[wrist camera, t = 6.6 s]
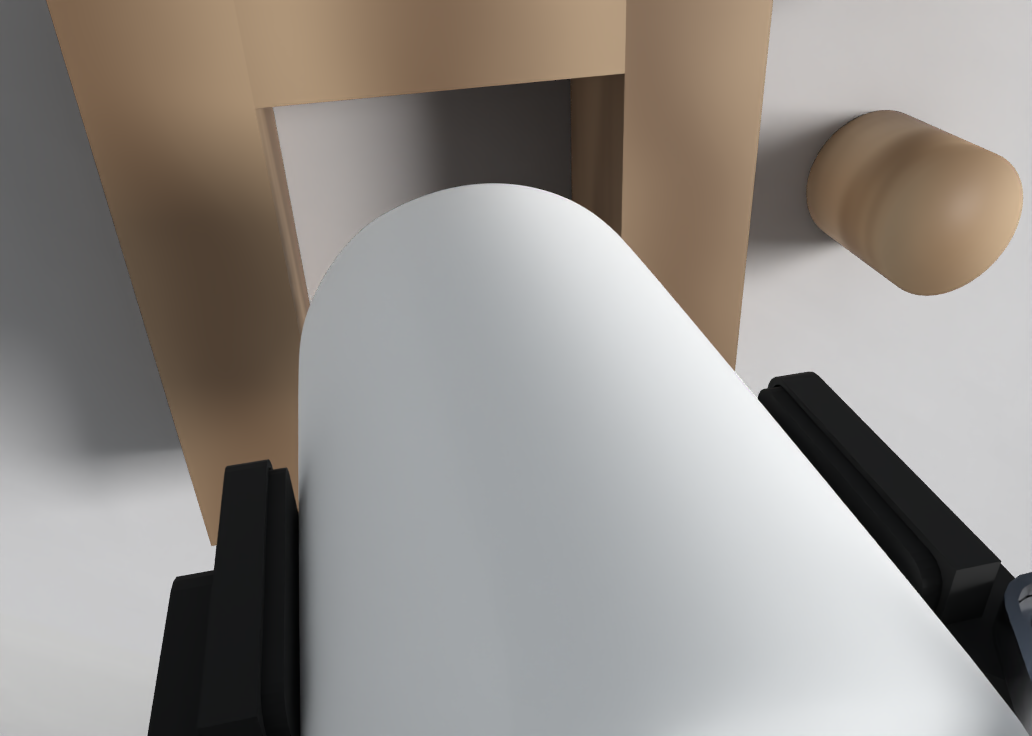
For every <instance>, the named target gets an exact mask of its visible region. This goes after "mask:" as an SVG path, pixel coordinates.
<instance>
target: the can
mask: <svg viewBox="0 0 1032 736" xmlns="http://www.w3.org/2000/svg"><path fill="white" fill-rule="evenodd" d="M298 495H299V644H300V736H1029V734H1028V733H1027V731H1026V730H1025V728H1024V727H1023V725H1022V724H1021V722H1020V721H1019V719H1018V718H1017V717H1016V715H1015V714H1014V713H1013V711H1012V710H1011V709H1010V707H1009V706H1008V705H1007V704H1006V702H1005V701H1004V700H1003V698H1002V697H1001V696H1000V695H999V693H998V692H997V691H996V690H995V688H994V687H993V686H992V684H991V683H990V682H989V681H988V679H987V678H986V677H985V675H984V674H983V673H982V672H981V670H980V669H979V668H978V666H977V665H976V664H975V663H974V661H973V660H972V659H971V657H970V656H969V655H968V654H967V653H966V651H965V650H964V649H963V648H962V646H961V645H960V644H959V643H958V642H957V640H956V639H955V638H954V637H953V635H952V634H951V633H950V632H949V630H948V629H947V628H946V627H945V626H944V624H943V623H942V622H941V621H940V619H939V618H938V617H937V616H936V615H935V613H934V612H933V611H932V610H931V608H930V607H929V606H928V605H927V603H926V602H925V601H924V600H923V599H922V597H921V596H920V595H919V594H918V592H917V591H916V590H915V589H914V588H913V586H912V585H911V584H910V583H909V581H908V580H907V579H906V578H905V576H904V575H903V574H902V573H901V572H900V570H899V569H898V568H897V567H896V566H895V564H894V563H893V562H892V561H891V560H890V558H889V557H888V556H887V555H886V553H885V552H884V551H883V550H882V549H881V547H880V546H879V545H878V544H877V543H876V541H875V540H874V539H873V538H872V537H871V535H870V534H869V533H868V532H867V530H866V529H865V528H864V527H863V526H862V524H861V523H860V522H859V521H858V520H857V518H856V517H855V516H854V515H853V513H852V512H851V511H850V510H849V509H848V507H847V506H846V505H845V504H844V503H843V501H842V500H841V499H840V498H839V497H838V495H837V494H836V493H835V492H834V490H833V489H832V488H831V487H830V486H829V484H828V483H827V482H826V481H825V480H824V478H823V477H822V476H821V475H820V474H819V472H818V471H817V470H816V469H815V467H814V466H813V465H812V464H811V463H810V461H809V460H808V459H807V458H806V457H805V455H804V454H803V453H802V452H801V451H800V449H799V448H798V447H797V446H796V445H795V443H794V442H793V441H792V440H791V439H790V437H789V436H788V435H787V434H786V433H785V431H784V430H783V429H782V428H781V427H780V425H779V424H778V423H777V422H776V421H775V419H774V418H773V417H772V416H771V415H770V413H769V412H768V411H767V410H766V409H765V407H764V406H763V405H762V404H761V402H760V401H759V400H758V399H757V398H756V396H755V395H754V394H753V393H752V392H751V390H750V389H749V388H748V387H747V386H746V384H745V383H744V382H743V381H742V380H741V378H740V377H739V376H738V375H737V374H736V372H735V371H734V370H733V369H732V368H731V366H730V365H729V364H728V363H727V362H726V361H725V359H724V358H723V357H722V356H721V355H720V353H719V352H718V351H717V350H716V349H715V347H714V346H713V345H712V344H711V343H710V341H709V340H708V339H707V338H706V337H705V335H704V334H703V333H702V332H701V331H700V329H699V328H698V327H697V326H696V325H695V323H694V322H693V321H692V320H691V319H690V317H689V316H688V315H687V314H686V313H685V312H684V310H683V309H682V308H681V307H680V306H679V304H678V303H677V302H676V301H675V300H674V298H673V297H672V296H671V295H670V294H669V293H668V291H667V290H666V289H665V288H664V287H663V285H662V284H661V283H660V282H659V281H658V279H657V278H656V277H655V276H654V275H653V274H652V272H651V271H650V270H649V269H648V268H647V267H646V265H645V264H644V263H643V262H642V261H641V260H640V259H639V257H638V256H637V255H636V254H635V253H634V252H633V250H632V249H631V248H630V247H629V246H628V245H627V244H626V243H625V242H624V240H623V239H622V238H621V237H620V236H619V235H618V234H617V233H616V232H615V231H614V230H613V229H612V228H611V227H610V226H608V225H607V224H606V223H605V222H604V221H603V220H601V219H600V218H599V217H598V216H596V215H595V214H593V213H592V212H590V211H589V210H587V209H586V208H584V207H582V206H581V205H579V204H577V203H575V202H573V201H571V200H569V199H567V198H564V197H562V196H560V195H557V194H554V193H551V192H548V191H545V190H541V189H537V188H533V187H528V186H521V185H514V184H499V183H488V184H473V185H465V186H459V187H453V188H449V189H445V190H441V191H437V192H434V193H430V194H428V195H425V196H422V197H419V198H417V199H414V200H412V201H409V202H407V203H405V204H403V205H401V206H398V207H396V208H394V209H392V210H390V211H389V212H387V213H385V214H383V215H381V216H380V217H378V218H377V219H375V220H374V221H372V222H371V223H370V224H368V225H367V226H366V227H365V228H363V229H362V230H361V231H360V232H359V233H358V234H357V235H356V236H355V237H354V238H353V239H352V240H351V241H350V242H349V243H348V244H347V245H346V246H345V248H344V249H343V250H342V251H341V252H340V254H339V255H338V256H337V258H336V259H335V260H334V262H333V263H332V265H331V266H330V268H329V269H328V271H327V272H326V274H325V276H324V278H323V279H322V281H321V283H320V285H319V287H318V289H317V291H316V293H315V295H314V297H313V299H312V302H311V304H310V307H309V309H308V312H307V315H306V318H305V321H304V325H303V330H302V335H301V342H300V352H299V383H298Z"/></svg>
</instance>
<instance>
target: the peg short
mask: <svg viewBox="0 0 1032 736" xmlns="http://www.w3.org/2000/svg"><path fill="white" fill-rule="evenodd" d="M806 197H807V205H808V210H809V212H810V215H811V217H812V219H813V221H814V222H815V224H816V225H817V226H818V227H819V228H820V229H821V230H822V231H823V232H824V233H826V234H827V235H828V236H830V237H831V238H832V239H834V240H835V241H837V242H838V243H839V244H841V245H842V246H843V247H845V248H846V249H847V250H849V251H850V252H851V253H853V254H854V255H855V256H857V257H858V258H860V259H861V260H862V261H864V262H865V263H866V264H868V265H869V266H870V267H872V268H873V269H874V270H876V271H877V272H878V273H880V274H881V275H883V276H884V277H885V278H887V279H888V280H889V281H891V282H892V283H893V284H895V285H896V286H897V287H899V288H901V289H902V290H904V291H906V292H909V293H911V294H916V295H925V296H929V295H938V294H943V293H947V292H950V291H953V290H955V289H958V288H960V287H962V286H964V285H966V284H968V283H969V282H971V281H973V280H974V279H975V278H977V277H978V276H980V275H981V274H982V273H983V272H984V271H986V270H987V269H988V268H989V267H990V266H991V265H992V264H993V263H994V262H995V261H996V260H997V259H998V257H999V256H1000V255H1001V254H1002V252H1003V251H1004V250H1005V248H1006V247H1007V245H1008V244H1009V242H1010V240H1011V238H1012V237H1013V235H1014V232H1015V230H1016V228H1017V226H1018V223H1019V220H1020V216H1021V211H1022V205H1023V189H1022V184H1021V181H1020V178H1019V175H1018V173H1017V172H1016V170H1015V168H1014V167H1013V166H1012V165H1011V164H1010V162H1008V161H1007V160H1006V159H1004V158H1003V157H1001V156H999V155H997V154H995V153H993V152H991V151H988V150H986V149H984V148H982V147H979V146H977V145H975V144H973V143H970V142H968V141H966V140H963V139H961V138H959V137H957V136H954V135H952V134H950V133H948V132H945V131H943V130H941V129H938V128H936V127H934V126H932V125H929V124H927V123H925V122H923V121H920V120H918V119H916V118H914V117H911V116H909V115H907V114H904V113H901V112H898V111H892V110H880V111H874V112H870V113H867V114H864V115H862V116H859V117H857V118H855V119H853V120H852V121H850V122H848V123H847V124H845V125H844V126H843V127H841V128H840V129H839V130H838V131H837V132H836V133H834V134H833V135H832V136H831V138H830V139H829V140H828V141H827V142H826V143H825V145H824V146H823V147H822V149H821V150H820V152H819V153H818V155H817V157H816V159H815V161H814V163H813V165H812V168H811V171H810V174H809V177H808V182H807V191H806Z"/></svg>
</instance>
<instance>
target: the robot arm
mask: <svg viewBox="0 0 1032 736" xmlns="http://www.w3.org/2000/svg"><path fill="white" fill-rule="evenodd" d="M758 400H759V401H760V402H761V404H762V405H763V406H764V407H765V409H766V410H767V411H768V412H769V413H770V415H771V416H772V417H773V418H774V419H775V421H776V422H777V423H778V424H779V425H780V427H781V428H782V429H783V430H784V431H785V433H786V434H787V435H788V436H789V437H790V439H791V440H792V441H793V442H794V443H795V445H796V446H797V447H798V448H799V449H800V451H801V452H802V453H803V454H804V455H805V457H806V458H807V459H808V460H809V461H810V463H811V464H812V465H813V466H814V467H815V469H816V470H817V471H818V472H819V474H820V475H821V476H822V477H823V478H824V480H825V481H826V482H827V483H828V484H829V486H830V487H831V488H832V489H833V490H834V492H835V493H836V494H837V495H838V497H839V498H840V499H841V500H842V501H843V503H844V504H845V505H846V506H847V507H848V509H849V510H850V511H851V512H852V513H853V515H854V516H855V517H856V518H857V520H858V521H859V522H860V523H861V524H862V526H863V527H864V528H865V529H866V530H867V532H868V533H869V534H870V535H871V537H872V538H873V539H874V540H875V541H876V543H877V544H878V545H879V546H880V547H881V549H882V550H883V551H884V552H885V553H886V555H887V556H888V557H889V558H890V560H891V561H892V562H893V563H894V564H895V566H896V567H897V568H898V569H899V570H900V572H901V573H902V574H903V575H904V576H905V578H906V579H907V580H908V581H909V583H910V584H911V585H912V586H913V588H914V589H915V590H916V591H917V592H918V594H919V595H920V596H921V597H922V599H923V600H924V601H925V602H926V603H927V605H928V606H929V607H930V608H931V610H932V611H933V612H934V613H935V615H936V616H937V617H938V618H939V619H940V621H941V622H942V623H943V624H944V626H945V627H946V628H947V629H948V630H949V632H950V633H951V634H952V635H953V637H954V638H955V639H956V640H957V642H958V643H959V644H960V645H961V646H962V648H963V649H964V650H965V651H966V653H967V654H968V655H969V656H970V657H971V659H972V660H973V661H974V663H975V664H976V665H977V666H978V668H979V669H980V670H981V672H982V673H983V674H984V675H985V677H986V678H987V679H988V681H989V682H990V683H991V684H992V686H993V687H994V688H995V690H996V691H997V692H998V693H999V695H1000V696H1001V697H1002V698H1003V700H1004V701H1005V702H1006V704H1007V705H1008V706H1009V707H1010V709H1011V710H1012V711H1013V713H1014V714H1015V715H1016V717H1017V718H1018V719H1019V721H1020V722H1021V724H1022V725H1023V727H1024V728H1025V730H1026V731H1027V733H1028V734H1029V736H1032V572H1030V573H1026V574H1022V575H1019V576H1018V577H1016V578H1014V577H1013V576H1012V575H1011V574H1010V573H1009V571H1008V570H1007V569H1006V568H1005V567H1004V566H1003V565H1002V564H1001V560H1000V559H999V558H998V557H997V556H996V555H995V554H994V553H993V552H992V551H991V550H990V549H989V548H988V547H987V546H986V545H985V544H984V543H983V542H982V541H981V540H980V539H979V538H978V537H977V536H976V535H975V534H974V533H973V532H972V531H971V530H970V529H969V528H968V527H967V526H966V525H965V524H964V523H963V522H962V521H961V520H960V519H959V518H958V517H957V516H956V515H955V514H954V513H953V512H952V511H951V510H950V509H949V508H948V507H947V506H946V505H945V504H944V503H943V502H942V501H941V500H940V498H939V497H938V496H937V495H936V494H935V493H934V492H933V491H932V490H931V489H930V488H929V487H928V486H927V485H926V484H925V483H924V482H923V481H922V480H921V479H920V478H919V477H918V476H917V475H916V474H915V473H914V472H913V471H912V470H911V469H910V468H909V467H908V466H907V465H906V464H905V463H904V462H903V461H902V460H901V459H900V458H899V457H898V456H897V455H896V454H895V453H894V452H893V451H892V450H891V449H890V448H889V447H888V446H887V445H886V444H885V443H884V442H883V441H882V440H881V439H880V438H879V437H878V436H877V435H876V434H875V433H874V431H873V430H872V429H871V428H870V427H869V426H868V425H867V424H866V423H865V422H864V421H863V420H862V419H861V418H860V417H859V416H858V415H857V414H856V413H855V412H854V411H853V410H852V409H851V408H850V407H849V406H848V405H847V404H846V403H845V402H844V401H843V400H842V399H841V398H840V397H839V396H838V395H837V394H836V393H835V392H834V391H833V390H832V389H831V388H830V387H829V386H828V385H827V384H826V383H825V382H824V381H823V380H822V379H821V378H820V377H819V376H818V375H817V374H815V373H814V372H804V373H798V374H791V375H785V376H779V377H775V378H773V379H771V381H770V383H769V385H768V388H767V389H763V390H761V391H760V393H759V396H758ZM148 736H300V644H299V513H298V509H297V505H296V500H295V496H294V491H293V487H292V483H291V478H290V474H289V471H288V468H287V467H286V468H279V469H273V467H272V464H271V462H270V460H269V459H267V460H261V461H254V462H248V463H242V464H236V465H230V466H226V468H225V472H224V481H223V490H222V500H221V509H220V518H219V528H218V537H217V546H216V556H215V565H214V570H212V571H207V572H201V573H196V574H190V575H184V576H179V577H176V579H175V580H174V581H173V585H172V589H171V593H170V599H169V606H168V612H167V618H166V624H165V630H164V637H163V643H162V649H161V655H160V661H159V668H158V674H157V680H156V686H155V692H154V699H153V705H152V711H151V717H150V723H149V730H148Z"/></svg>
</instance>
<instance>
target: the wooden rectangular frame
mask: <svg viewBox="0 0 1032 736" xmlns="http://www.w3.org/2000/svg"><path fill="white" fill-rule="evenodd" d="M46 2H47V5H48V8H49V11H50V15H51V18H52V21H53V25H54V28H55V31H56V35H57V38H58V41H59V44H60V48H61V51H62V54H63V58H64V61H65V64H66V68H67V71H68V74H69V77H70V81H71V84H72V87H73V91H74V94H75V97H76V101H77V104H78V107H79V110H80V114H81V117H82V120H83V124H84V127H85V130H86V134H87V137H88V140H89V143H90V147H91V150H92V153H93V157H94V160H95V163H96V167H97V170H98V173H99V176H100V180H101V183H102V186H103V190H104V193H105V196H106V200H107V203H108V206H109V209H110V213H111V216H112V219H113V223H114V226H115V229H116V233H117V236H118V239H119V242H120V246H121V249H122V252H123V256H124V259H125V262H126V266H127V269H128V272H129V275H130V279H131V282H132V285H133V289H134V292H135V295H136V299H137V302H138V305H139V308H140V312H141V315H142V318H143V322H144V325H145V328H146V332H147V335H148V338H149V341H150V345H151V348H152V351H153V355H154V358H155V361H156V364H157V368H158V371H159V374H160V378H161V381H162V384H163V388H164V391H165V394H166V397H167V401H168V404H169V407H170V411H171V414H172V417H173V421H174V424H175V427H176V430H177V434H178V437H179V440H180V444H181V447H182V450H183V454H184V457H185V460H186V463H187V467H188V470H189V473H190V477H191V480H192V483H193V487H194V490H195V493H196V496H197V500H198V503H199V506H200V510H201V513H202V516H203V520H204V523H205V526H206V529H207V533H208V536H209V539H210V543H211V546H214V545H217V537H218V528H219V518H220V509H221V500H222V490H223V481H224V472H225V468H226V466H230V465H236V464H242V463H248V462H254V461H261V460H267V459H269V460H270V462H271V464H272V467H273V469H279V468H286V467H287V468H288V471H289V474H290V478H291V483H292V487H293V491H294V496H295V500H296V505H297V509H298V513H299V495H298V383H299V352H300V342H301V335H302V330H303V325H304V321H305V318H306V315H307V312H308V309H309V307H310V303H309V298H308V293H307V287H306V282H305V277H304V271H303V266H302V261H301V255H300V250H299V245H298V239H297V234H296V229H295V223H294V218H293V213H292V207H291V202H290V197H289V191H288V186H287V181H286V175H285V170H284V165H283V159H282V154H281V149H280V144H279V138H278V133H277V128H276V122H275V117H274V112H273V107H276V106H287V105H297V104H308V103H318V102H329V101H339V100H350V99H360V98H371V97H381V96H392V95H402V94H413V93H424V92H434V91H445V90H455V89H466V88H476V87H487V86H497V85H508V84H518V83H529V82H539V81H550V80H561V79H570V87H571V181H572V201H573V202H575V203H577V204H579V205H581V206H582V207H584V208H586V209H587V210H589V211H590V212H592V213H593V214H595V215H596V216H598V217H599V218H600V219H601V220H603V221H604V222H605V223H606V224H607V225H608V226H610V227H611V228H612V229H613V230H614V231H615V232H616V233H617V234H618V235H619V236H620V237H621V238H622V239H623V240H624V242H625V243H626V244H627V245H628V246H629V247H630V248H631V249H632V250H633V252H634V253H635V254H636V255H637V256H638V257H639V259H640V260H641V261H642V262H643V263H644V264H645V265H646V267H647V268H648V269H649V270H650V271H651V272H652V274H653V275H654V276H655V277H656V278H657V279H658V281H659V282H660V283H661V284H662V285H663V287H664V288H665V289H666V290H667V291H668V293H669V294H670V295H671V296H672V297H673V298H674V300H675V301H676V302H677V303H678V304H679V306H680V307H681V308H682V309H683V310H684V312H685V313H686V314H687V315H688V316H689V317H690V319H691V320H692V321H693V322H694V323H695V325H696V326H697V327H698V328H699V329H700V331H701V332H702V333H703V334H704V335H705V337H706V338H707V339H708V340H709V341H710V343H711V344H712V345H713V346H714V347H715V349H716V350H717V351H718V352H719V353H720V355H721V356H722V357H723V358H724V359H725V361H726V362H727V363H728V364H729V365H730V366H731V368H732V369H733V370H734V371H735V364H736V355H737V345H738V335H739V326H740V316H741V306H742V296H743V287H744V277H745V267H746V258H747V248H748V238H749V229H750V219H751V209H752V199H753V190H754V180H755V170H756V161H757V151H758V141H759V131H760V122H761V112H762V102H763V93H764V83H765V73H766V63H767V54H768V44H769V34H770V25H771V15H772V5H773V0H46Z"/></svg>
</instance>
